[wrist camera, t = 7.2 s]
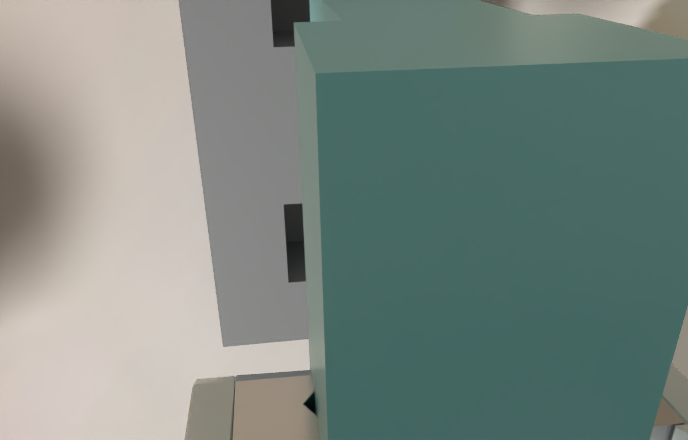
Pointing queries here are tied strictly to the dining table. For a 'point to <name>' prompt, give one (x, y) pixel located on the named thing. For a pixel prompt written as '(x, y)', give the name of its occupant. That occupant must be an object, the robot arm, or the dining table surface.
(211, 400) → the robot arm
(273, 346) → the dining table surface
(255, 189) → the gray socket block
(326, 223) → the notched turquoise block
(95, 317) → the dining table surface
